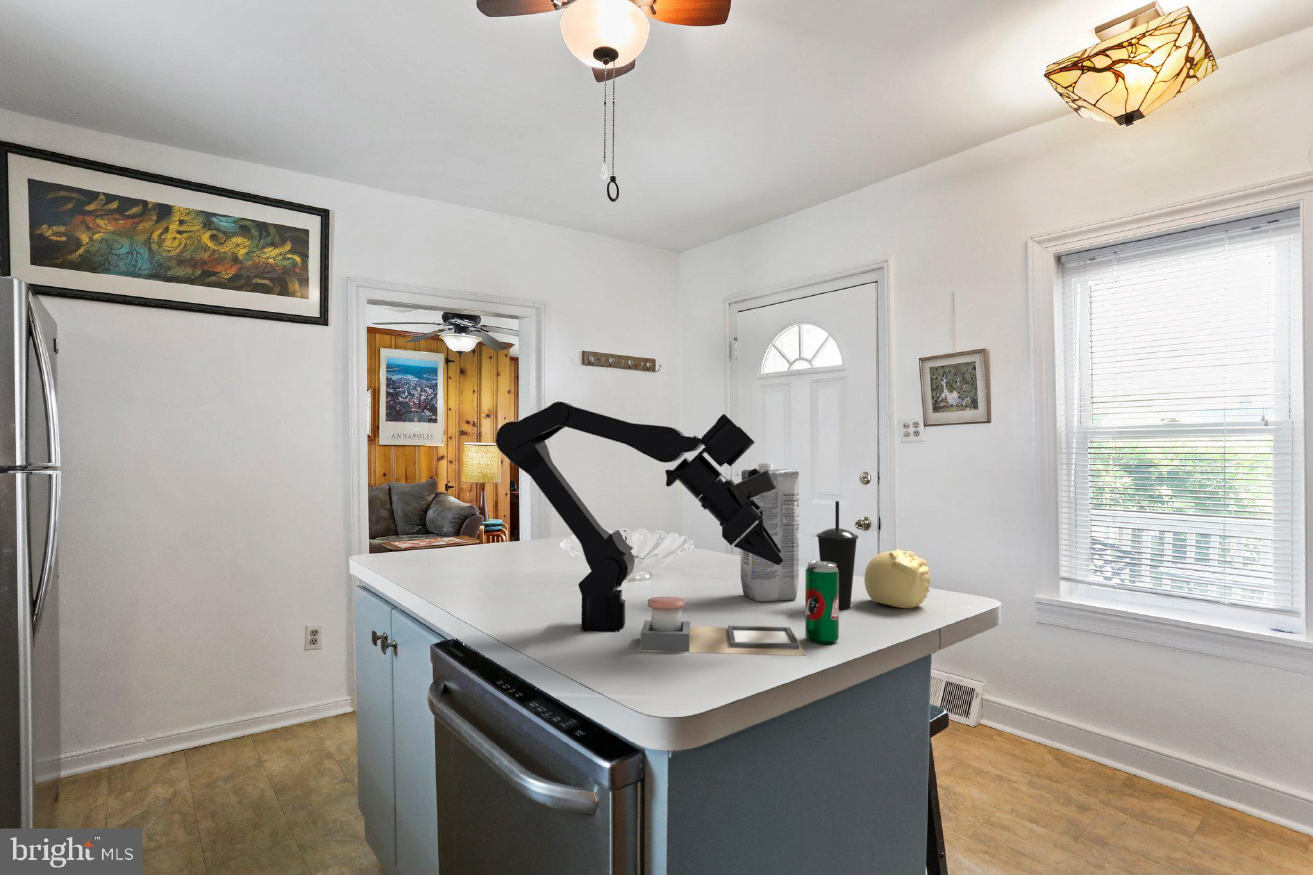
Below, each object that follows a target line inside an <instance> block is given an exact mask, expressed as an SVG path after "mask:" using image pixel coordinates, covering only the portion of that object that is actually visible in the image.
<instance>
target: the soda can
mask: <svg viewBox="0 0 1313 875" xmlns="http://www.w3.org/2000/svg"><path fill="white" fill-rule="evenodd" d="M804 574H805V576H804V577H805V584H804V585H805V587H804V588H805V590H804V592H805V596H804V597H805V600H804V601H805V603H804V604H805V606H804V607H805V617H804V618H805V620H804V621H805V623H804V624H805V627H804V630H805V631H804V632H805V634H804V636H805V638H806V639H807V640H808V641H809V642H811V643H813V644H818V645H832V644H835V643H836V642H838V640H839V638H840V635H839V634H840V633H839V632H840V631H839V630H840V628H839V627H840V625H839V624H840V620H839V619H840V610H839V570H838V569H837V567H836V563H833V562H827V561H820V560H813V561H808V563H807V567H806V568H805V573H804Z"/></svg>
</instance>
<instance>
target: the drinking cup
mask: <svg viewBox="0 0 1313 875" xmlns="http://www.w3.org/2000/svg"><path fill="white" fill-rule="evenodd" d="M834 504H835V509H834V510H835V511H834V512H835V519H834V520H835V522H834V524H835V527H833V528H827V529H825V530H822V531H821V532H818V533H816V538H817V542H818V551H819V552H818V553H819V561H827V562H833V563H836V567H837V569H838V570H839V611H843V610H849V609H850V608H851V604H852V603H851V602H852V591H853V584H854V582H853V581H854V571H855V561H856V551H857V541H858V539H859V535H858V534H856V533H853V532H852V531H850V530H849V529H848V530H847V529H844V528H840V500H836V501H835V502H834Z"/></svg>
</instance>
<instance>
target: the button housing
mask: <svg viewBox="0 0 1313 875" xmlns="http://www.w3.org/2000/svg"><path fill="white" fill-rule="evenodd" d="M690 627H691V621H688V620H687V621H682V620H681V631H680V632H670V631H652V620H644V622H643V625H642V628H641V631H640V640H641V650H656V651H689V648H690Z"/></svg>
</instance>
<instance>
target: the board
mask: <svg viewBox="0 0 1313 875" xmlns="http://www.w3.org/2000/svg"><path fill="white" fill-rule="evenodd" d="M636 652H647V653H648V652H650V653H652V652H653V653H678V654H679V653H682V654H683V653H687V654H720V655H721V654H722V655H723V654H726V655H759V656H760V655H761V656H764V655H765V656H767V655H768V656H793V657H794V656H799V657H806V656H807V654H806V653H805V651H804V648H803V646H802V645H801V643H800V641H799V639H798V637H797V635H796V632H795V631H794V629H793V628H791V627H790V626H771V625H770V626H761V625H760V626H759V625H758V626H757V625H727V627H726V626H725V627H721V626H720V627H715V626H690V648H689V651H656V650H641V639H640V640H639V644H638V646H637V650H636Z"/></svg>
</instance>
